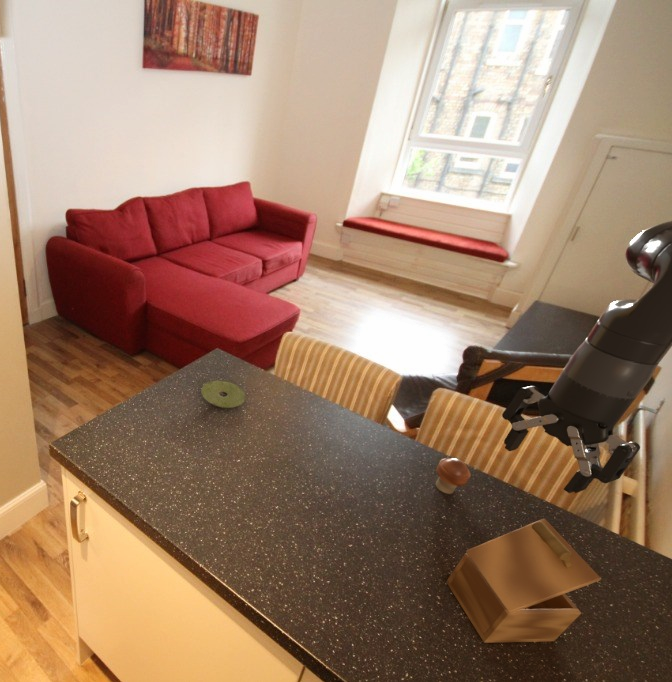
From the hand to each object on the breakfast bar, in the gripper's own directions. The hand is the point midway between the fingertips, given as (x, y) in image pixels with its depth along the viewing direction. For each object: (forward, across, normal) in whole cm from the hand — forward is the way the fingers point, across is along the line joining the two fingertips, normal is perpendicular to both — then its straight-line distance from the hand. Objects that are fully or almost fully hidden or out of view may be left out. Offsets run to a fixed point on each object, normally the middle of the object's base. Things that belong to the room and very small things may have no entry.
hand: (538, 468), depth 66 cm
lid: (+12, -7, +4) cm, 14 cm away
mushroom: (+23, +15, -11) cm, 30 cm away
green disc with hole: (+24, +54, +21) cm, 63 cm away
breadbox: (+23, -7, +3) cm, 25 cm away
